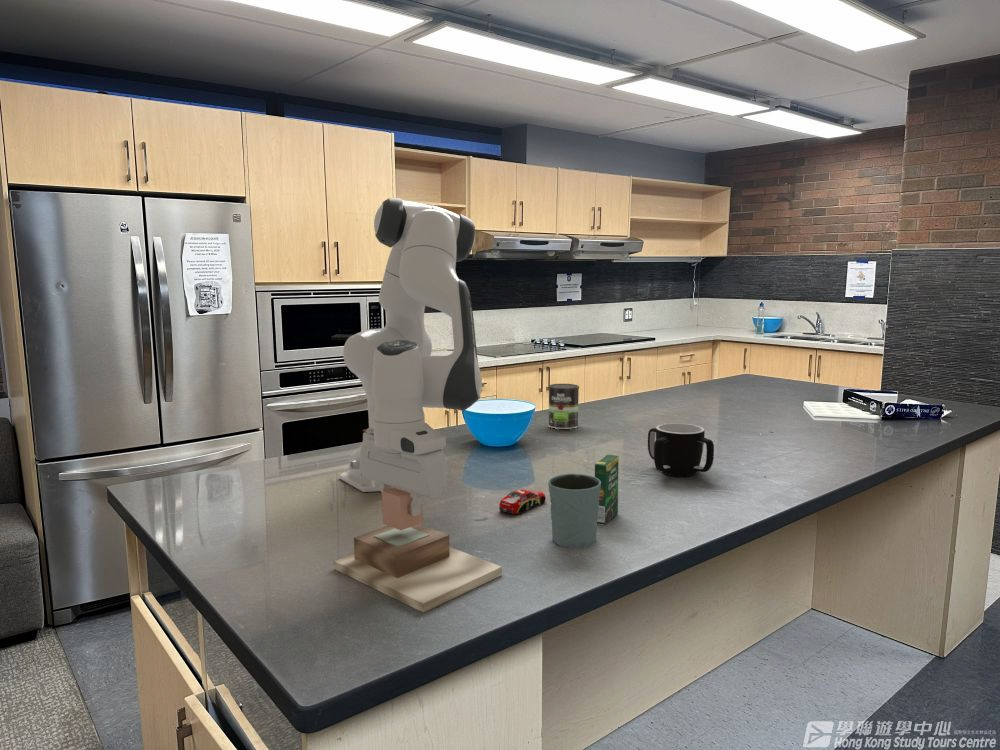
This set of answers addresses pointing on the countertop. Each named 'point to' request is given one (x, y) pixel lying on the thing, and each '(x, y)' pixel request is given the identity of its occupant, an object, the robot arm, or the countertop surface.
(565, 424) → the coffee can
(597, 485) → the grey green cup
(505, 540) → the countertop surface
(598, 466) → the coffee box
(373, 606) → the countertop surface
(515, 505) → the race car
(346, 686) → the countertop surface
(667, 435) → the mug
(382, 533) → the build board
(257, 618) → the countertop surface
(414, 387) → the robot arm
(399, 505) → the terracotta block
